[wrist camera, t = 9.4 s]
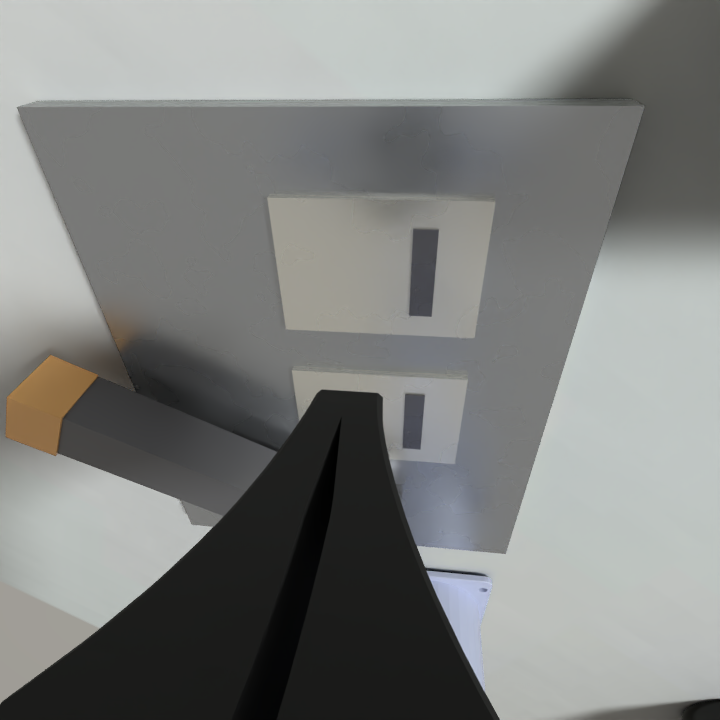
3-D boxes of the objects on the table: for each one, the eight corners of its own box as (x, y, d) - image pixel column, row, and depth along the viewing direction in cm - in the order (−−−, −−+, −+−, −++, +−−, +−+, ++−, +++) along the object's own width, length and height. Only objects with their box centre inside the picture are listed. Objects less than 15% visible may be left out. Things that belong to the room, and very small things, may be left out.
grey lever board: (503, 537, 27) (515, 631, 23) (198, 509, 29) (161, 592, 25) (632, 98, 13) (716, 145, 9) (37, 100, 15) (-99, 140, 11)
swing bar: (353, 482, 23) (346, 531, 21) (330, 508, 24) (321, 556, 22) (50, 354, 20) (6, 397, 18) (46, 393, 21) (5, 437, 19)
